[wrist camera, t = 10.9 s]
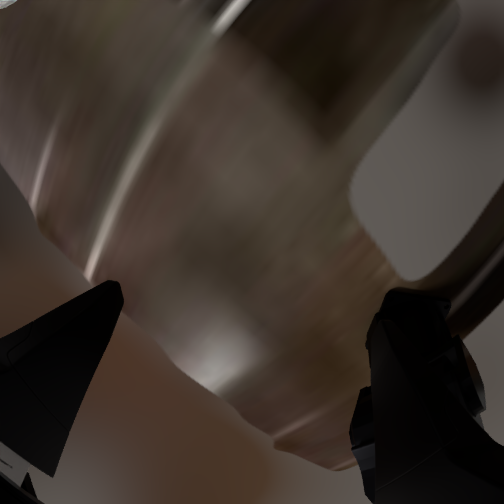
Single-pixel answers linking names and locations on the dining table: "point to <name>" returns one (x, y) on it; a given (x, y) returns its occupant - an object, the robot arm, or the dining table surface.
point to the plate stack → (6, 3)
